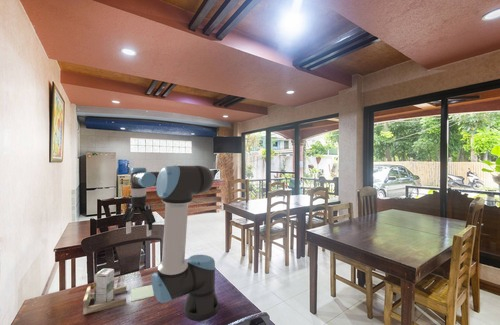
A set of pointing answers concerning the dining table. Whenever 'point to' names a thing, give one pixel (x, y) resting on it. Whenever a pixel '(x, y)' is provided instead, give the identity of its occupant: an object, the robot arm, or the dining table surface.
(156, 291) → the robot arm
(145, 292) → the sage mat
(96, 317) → the dining table surface
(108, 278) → the syrup box
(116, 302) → the wooden channel
